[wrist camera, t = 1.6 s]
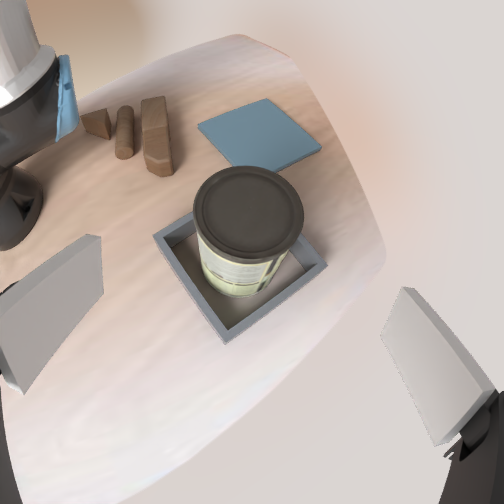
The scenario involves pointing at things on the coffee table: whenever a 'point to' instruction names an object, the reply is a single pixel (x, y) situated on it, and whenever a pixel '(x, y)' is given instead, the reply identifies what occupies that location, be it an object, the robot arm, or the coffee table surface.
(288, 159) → the board
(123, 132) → the wooden block set
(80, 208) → the coffee table surface
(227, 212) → the coffee can
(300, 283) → the bin
